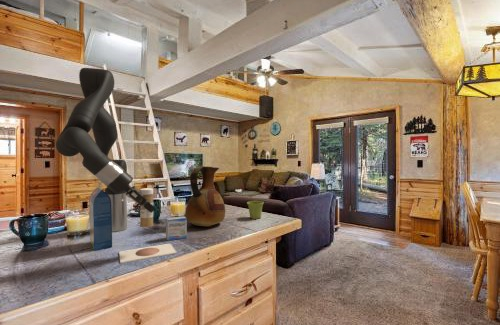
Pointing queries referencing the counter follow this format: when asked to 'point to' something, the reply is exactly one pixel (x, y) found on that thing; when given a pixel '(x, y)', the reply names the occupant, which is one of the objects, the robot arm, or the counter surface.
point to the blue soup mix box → (100, 219)
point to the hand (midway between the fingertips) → (152, 209)
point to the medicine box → (176, 228)
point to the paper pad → (146, 253)
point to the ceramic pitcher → (204, 199)
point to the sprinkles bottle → (145, 215)
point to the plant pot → (255, 209)
